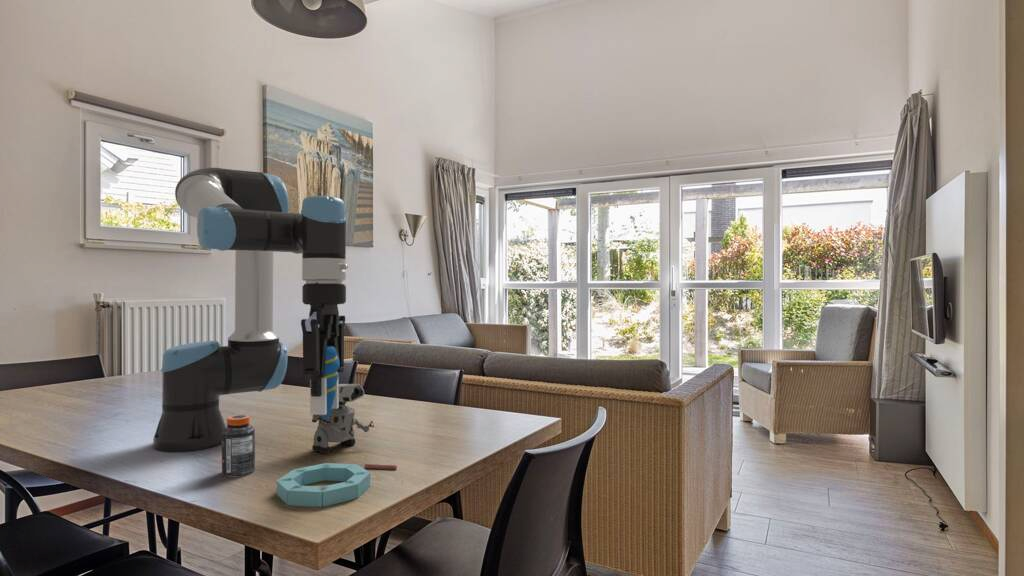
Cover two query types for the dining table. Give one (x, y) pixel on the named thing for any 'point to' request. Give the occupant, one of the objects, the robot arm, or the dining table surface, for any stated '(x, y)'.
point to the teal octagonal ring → (318, 496)
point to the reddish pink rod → (380, 466)
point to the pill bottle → (238, 447)
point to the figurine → (339, 421)
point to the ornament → (331, 376)
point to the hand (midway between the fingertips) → (324, 410)
